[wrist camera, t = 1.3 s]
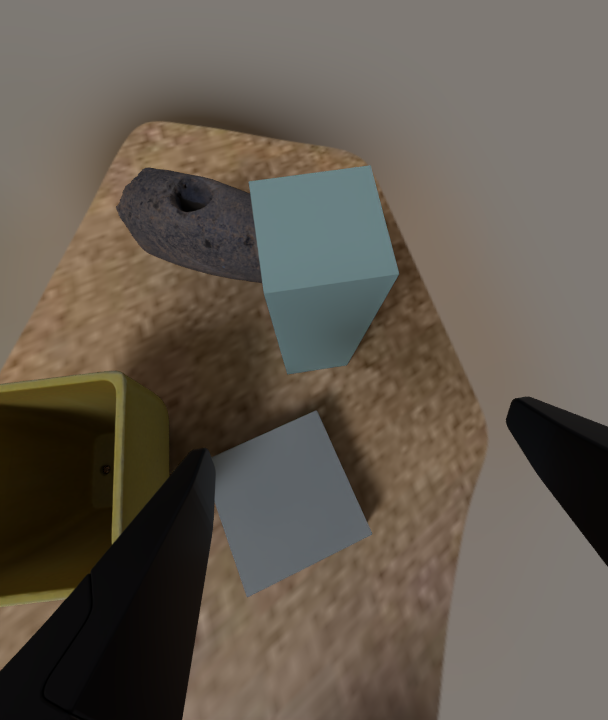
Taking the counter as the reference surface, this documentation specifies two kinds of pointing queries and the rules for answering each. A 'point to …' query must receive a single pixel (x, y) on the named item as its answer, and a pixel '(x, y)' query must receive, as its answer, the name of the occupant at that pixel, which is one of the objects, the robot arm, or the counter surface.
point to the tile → (285, 502)
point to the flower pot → (72, 476)
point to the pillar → (322, 262)
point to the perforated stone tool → (193, 223)
